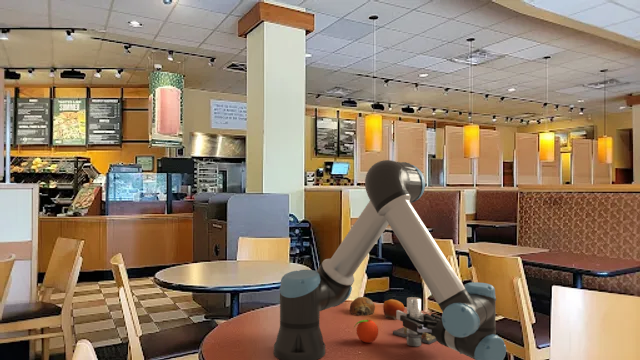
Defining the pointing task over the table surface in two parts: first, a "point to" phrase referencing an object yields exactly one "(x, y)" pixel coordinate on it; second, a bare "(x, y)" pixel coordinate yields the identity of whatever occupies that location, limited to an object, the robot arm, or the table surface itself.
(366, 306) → the bread roll
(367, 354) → the table surface
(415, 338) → the silver metal tall cylinder
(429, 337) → the gold square holder
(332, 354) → the table surface
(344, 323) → the table surface
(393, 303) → the fruit
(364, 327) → the clementine
